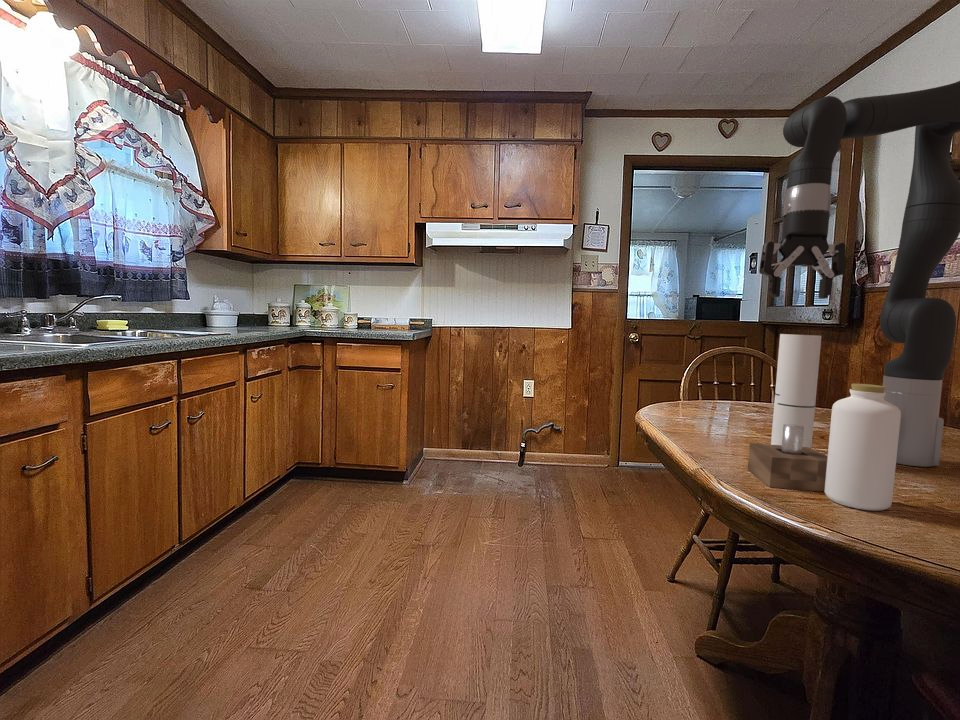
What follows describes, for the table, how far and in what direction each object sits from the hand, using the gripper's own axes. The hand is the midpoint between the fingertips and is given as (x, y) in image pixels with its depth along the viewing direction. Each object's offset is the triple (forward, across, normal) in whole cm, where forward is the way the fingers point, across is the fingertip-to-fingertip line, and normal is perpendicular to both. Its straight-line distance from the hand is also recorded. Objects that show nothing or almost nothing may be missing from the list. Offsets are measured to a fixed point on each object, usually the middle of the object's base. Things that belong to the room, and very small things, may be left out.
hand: (798, 297), depth 100 cm
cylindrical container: (+32, -3, -5) cm, 33 cm away
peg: (+31, +5, +14) cm, 34 cm away
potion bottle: (+32, 0, +24) cm, 40 cm away
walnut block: (+32, +5, +14) cm, 35 cm away
